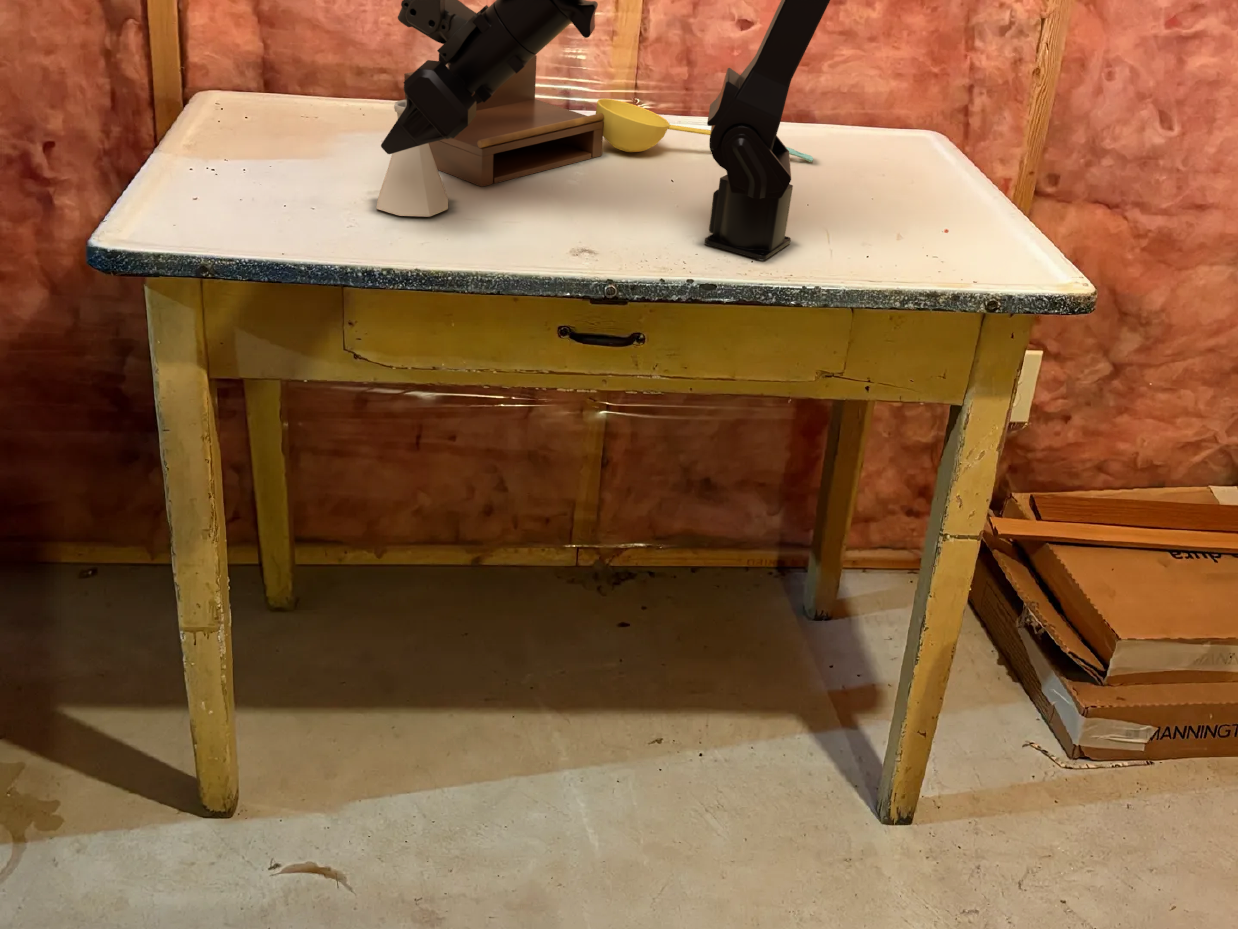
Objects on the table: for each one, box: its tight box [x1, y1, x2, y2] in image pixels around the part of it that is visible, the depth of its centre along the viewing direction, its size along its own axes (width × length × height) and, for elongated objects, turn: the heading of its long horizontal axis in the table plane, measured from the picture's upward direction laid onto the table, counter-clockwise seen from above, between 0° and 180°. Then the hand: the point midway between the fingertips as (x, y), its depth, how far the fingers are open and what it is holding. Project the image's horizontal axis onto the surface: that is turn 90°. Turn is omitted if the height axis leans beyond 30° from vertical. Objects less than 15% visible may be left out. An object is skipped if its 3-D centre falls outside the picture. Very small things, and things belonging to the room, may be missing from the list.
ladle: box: [595, 98, 814, 163], centre depth 135 cm, size 9×26×6 cm, turn 93°
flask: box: [375, 99, 449, 218], centre depth 110 cm, size 7×7×10 cm
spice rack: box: [403, 54, 604, 188], centre depth 126 cm, size 12×19×9 cm, turn 139°
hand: (398, 136), depth 109 cm, fingers open, 9 cm apart
